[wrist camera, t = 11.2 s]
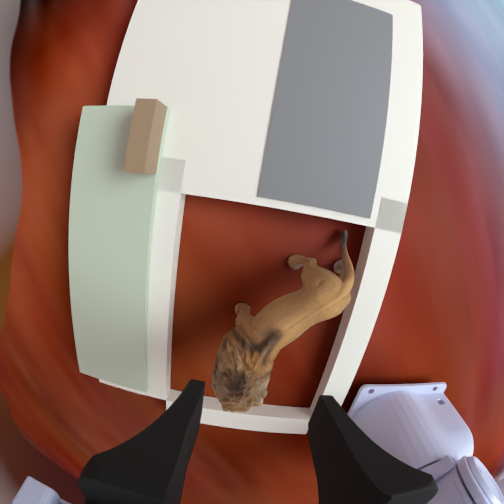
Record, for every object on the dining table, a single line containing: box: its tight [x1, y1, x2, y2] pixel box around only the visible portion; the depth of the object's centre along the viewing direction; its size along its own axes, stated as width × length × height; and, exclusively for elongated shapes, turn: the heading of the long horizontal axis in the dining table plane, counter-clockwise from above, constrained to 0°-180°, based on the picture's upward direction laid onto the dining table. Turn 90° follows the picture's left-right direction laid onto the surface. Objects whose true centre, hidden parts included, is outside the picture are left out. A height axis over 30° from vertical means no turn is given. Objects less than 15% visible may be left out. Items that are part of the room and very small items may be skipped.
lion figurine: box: [212, 230, 354, 412], centre depth 17 cm, size 12×4×7 cm, turn 140°
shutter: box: [69, 98, 170, 392], centre depth 17 cm, size 6×20×3 cm, turn 170°
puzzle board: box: [99, 0, 423, 434], centre depth 18 cm, size 20×36×2 cm, turn 170°
